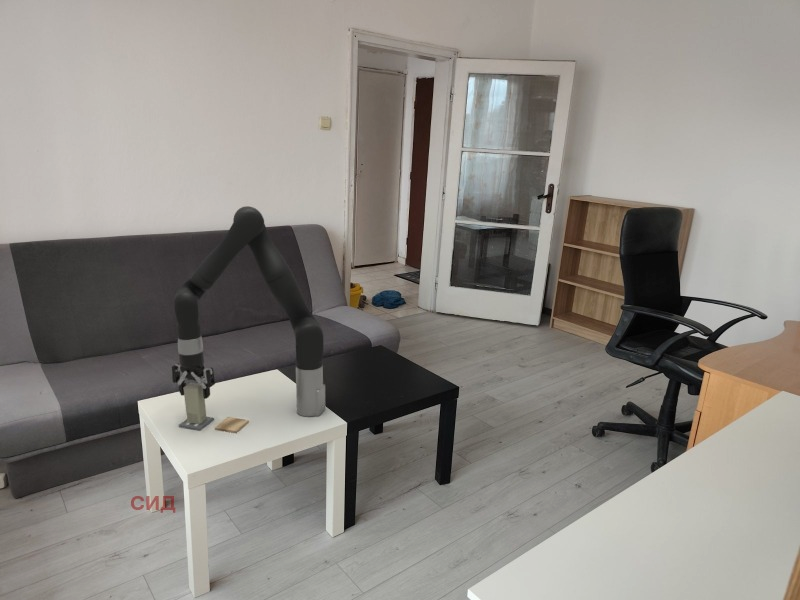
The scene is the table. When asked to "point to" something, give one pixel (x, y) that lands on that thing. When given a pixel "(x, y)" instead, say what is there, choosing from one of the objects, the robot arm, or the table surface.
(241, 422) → the pad oak
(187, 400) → the box
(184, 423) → the pad slate
